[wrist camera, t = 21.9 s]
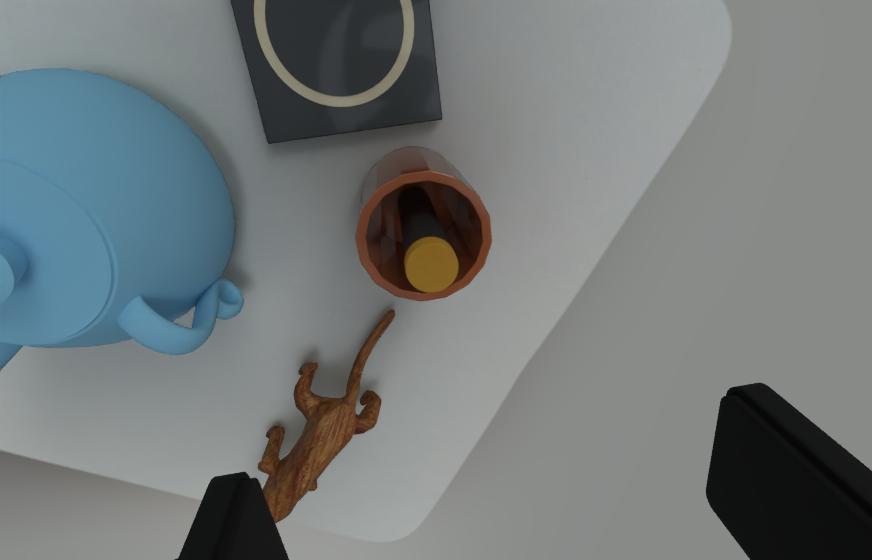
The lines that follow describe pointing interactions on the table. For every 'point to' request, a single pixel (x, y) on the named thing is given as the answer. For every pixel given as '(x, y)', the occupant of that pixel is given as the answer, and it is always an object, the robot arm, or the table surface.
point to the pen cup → (451, 203)
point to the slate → (339, 64)
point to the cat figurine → (318, 432)
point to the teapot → (106, 218)
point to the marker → (425, 243)
